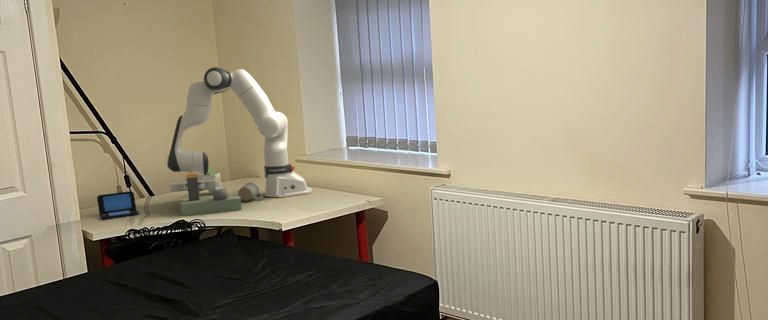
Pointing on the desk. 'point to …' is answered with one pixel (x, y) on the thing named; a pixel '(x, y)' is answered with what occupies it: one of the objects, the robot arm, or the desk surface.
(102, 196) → the handheld game console
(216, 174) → the ink box
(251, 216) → the desk surface
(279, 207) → the desk surface
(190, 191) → the dark grey tall block
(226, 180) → the desk surface
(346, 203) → the desk surface
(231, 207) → the green platform block
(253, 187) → the ceramic mug
